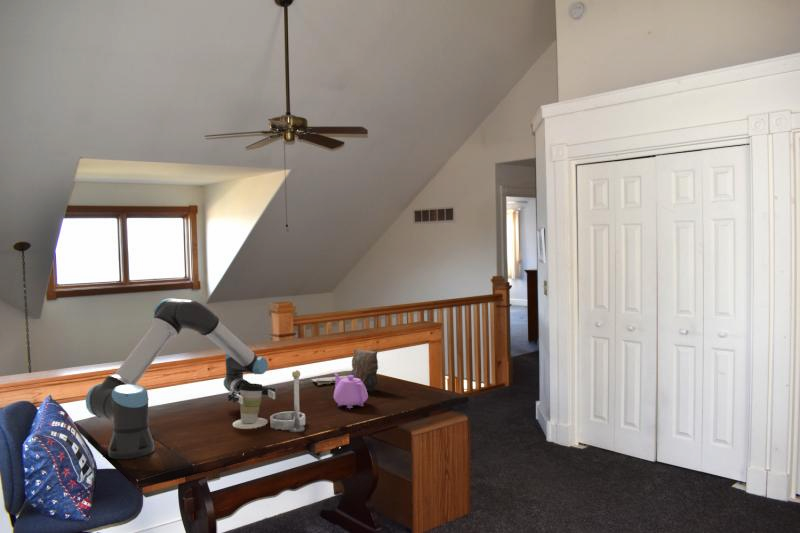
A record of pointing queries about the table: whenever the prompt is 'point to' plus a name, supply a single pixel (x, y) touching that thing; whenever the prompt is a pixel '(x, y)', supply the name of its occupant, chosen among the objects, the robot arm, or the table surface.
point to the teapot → (350, 391)
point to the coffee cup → (250, 401)
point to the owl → (365, 367)
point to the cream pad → (250, 424)
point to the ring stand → (290, 413)
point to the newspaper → (327, 380)
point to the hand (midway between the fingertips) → (258, 398)
